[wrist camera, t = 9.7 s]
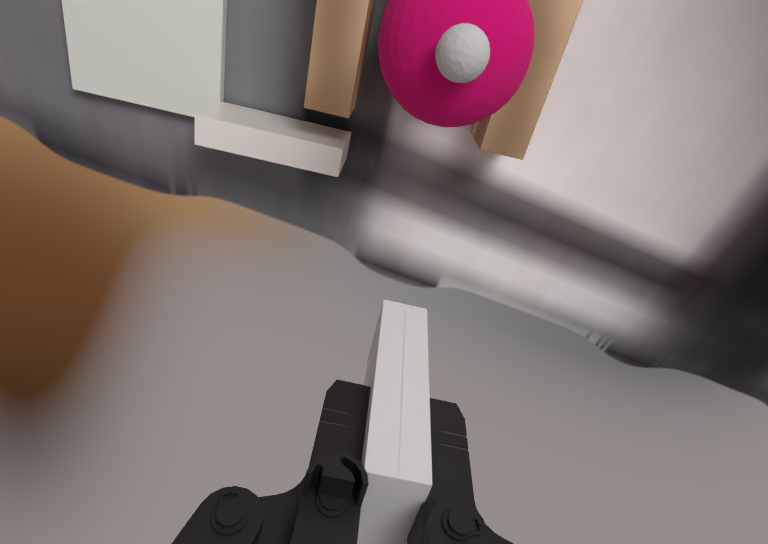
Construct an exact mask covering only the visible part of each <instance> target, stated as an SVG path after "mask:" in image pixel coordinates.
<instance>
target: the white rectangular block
mask: <svg viewBox="0 0 768 544" xmlns="http://www.w3.org/2000/svg"><path fill="white" fill-rule="evenodd" d="M350 138H351V132H349V131H345V130H340V129H336V128H332V127H328V126H323V125H319V124H315V123H311V122H306V121H302V120H298V119H294V118H289V117H285V116H281V115H277V114H272V113H268V112H264V111H260V110H255V109H251V108H247V107H243V106H238V105H234V104H230V103H226V102H220V103H218V104H216V105H214V106H212V107H210V108H208V109H206V110H204V111H201V112H199V113H197V114H195V145H200V146H204V147H208V148H213V149H217V150H221V151H226V152H230V153H235V154H239V155H243V156H248V157H252V158H256V159H261V160H265V161H270V162H274V163H278V164H283V165H287V166H291V167H296V168H300V169H304V170H309V171H313V172H318V173H322V174H326V175H331V176H335V177H338V176H339V174H340V172H341V170H342V167H343V165H344V163H345V161H346V158H347V155H348V149H349V143H350Z"/></svg>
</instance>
